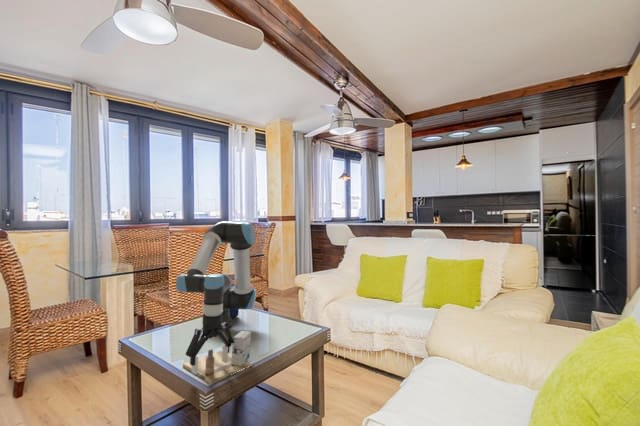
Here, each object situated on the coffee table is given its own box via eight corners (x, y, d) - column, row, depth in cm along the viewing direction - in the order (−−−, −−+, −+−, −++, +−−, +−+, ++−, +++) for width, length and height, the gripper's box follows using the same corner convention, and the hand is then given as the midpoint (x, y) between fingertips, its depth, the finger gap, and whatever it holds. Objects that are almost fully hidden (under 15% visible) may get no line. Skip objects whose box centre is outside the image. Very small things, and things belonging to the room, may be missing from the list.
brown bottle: (210, 370, 130) (212, 348, 130) (215, 373, 128) (216, 350, 128) (203, 373, 128) (204, 350, 128) (208, 376, 126) (209, 352, 126)
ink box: (239, 356, 144) (241, 330, 145) (250, 358, 143) (251, 331, 144) (230, 364, 136) (232, 336, 136) (242, 366, 135) (243, 338, 135)
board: (223, 352, 151) (224, 349, 151) (252, 366, 138) (252, 363, 138) (182, 366, 136) (183, 363, 136) (210, 383, 122) (210, 380, 122)
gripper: (233, 306, 141) (230, 355, 140) (177, 318, 121) (175, 374, 121) (243, 309, 136) (241, 360, 135) (188, 322, 117) (185, 381, 116)
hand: (210, 367), depth 128 cm, fingers open, 13 cm apart
